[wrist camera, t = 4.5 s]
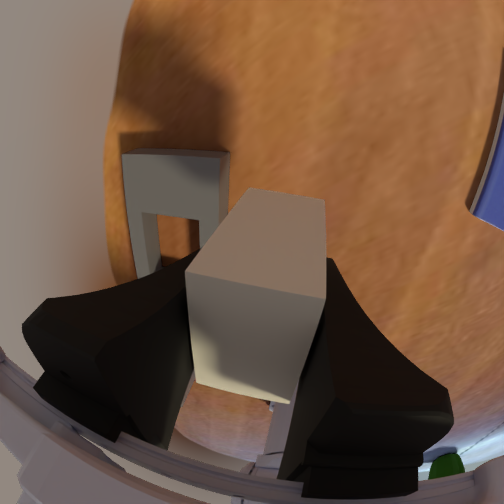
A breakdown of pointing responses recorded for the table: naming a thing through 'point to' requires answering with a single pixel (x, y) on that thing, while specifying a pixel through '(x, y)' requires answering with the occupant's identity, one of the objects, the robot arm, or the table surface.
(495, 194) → the blue book
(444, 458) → the bell pepper
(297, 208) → the plug
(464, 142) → the table surface
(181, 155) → the slotted gray plate
